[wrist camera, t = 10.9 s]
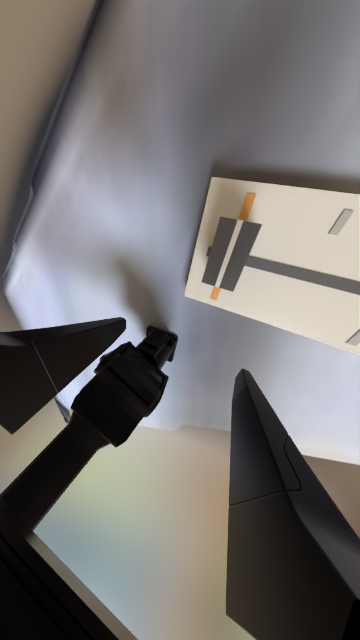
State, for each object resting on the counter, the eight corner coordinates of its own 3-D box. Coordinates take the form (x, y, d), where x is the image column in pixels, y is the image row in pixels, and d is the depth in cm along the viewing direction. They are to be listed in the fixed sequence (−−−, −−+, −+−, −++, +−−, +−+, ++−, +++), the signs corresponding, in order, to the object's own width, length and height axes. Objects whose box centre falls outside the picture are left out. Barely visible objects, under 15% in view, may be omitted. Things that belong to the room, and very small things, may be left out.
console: (362, 349, 15) (378, 361, 14) (188, 292, 20) (183, 296, 18) (515, 226, 9) (582, 220, 7) (214, 186, 14) (211, 175, 12)
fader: (233, 283, 15) (233, 292, 12) (208, 276, 16) (201, 282, 12) (255, 232, 12) (262, 223, 9) (224, 226, 13) (220, 216, 10)
